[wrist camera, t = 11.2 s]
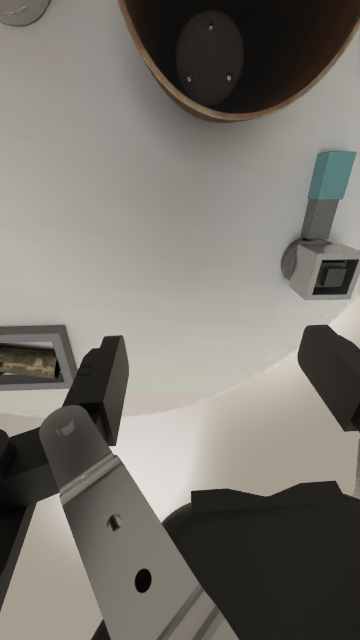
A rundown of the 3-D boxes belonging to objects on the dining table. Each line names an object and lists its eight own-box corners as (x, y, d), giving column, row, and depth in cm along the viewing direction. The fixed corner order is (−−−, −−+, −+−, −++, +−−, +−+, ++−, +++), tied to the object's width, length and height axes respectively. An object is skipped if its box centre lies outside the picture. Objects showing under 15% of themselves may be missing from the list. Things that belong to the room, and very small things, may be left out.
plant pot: (138, 142, 29) (112, 107, 15) (135, -61, 22) (82, -476, 8) (259, 153, 30) (336, 130, 17) (295, -37, 23) (489, -364, 9)
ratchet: (303, 153, 31) (343, 145, 24) (357, 153, 31) (412, 145, 24) (277, 281, 39) (300, 303, 32) (319, 281, 39) (352, 302, 32)
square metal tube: (298, 244, 33) (318, 253, 29) (341, 244, 33) (367, 253, 29) (288, 285, 36) (305, 300, 32) (328, 285, 36) (349, 299, 32)
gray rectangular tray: (-78, 329, 40) (-92, 337, 38) (64, 325, 41) (58, 333, 39) (-44, 382, 46) (-55, 392, 44) (79, 378, 47) (75, 388, 45)
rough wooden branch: (63, 347, 44) (50, 368, 39) (63, 374, 47) (52, 397, 42) (-47, 331, 41) (-76, 352, 36) (-39, 361, 44) (-64, 384, 39)
